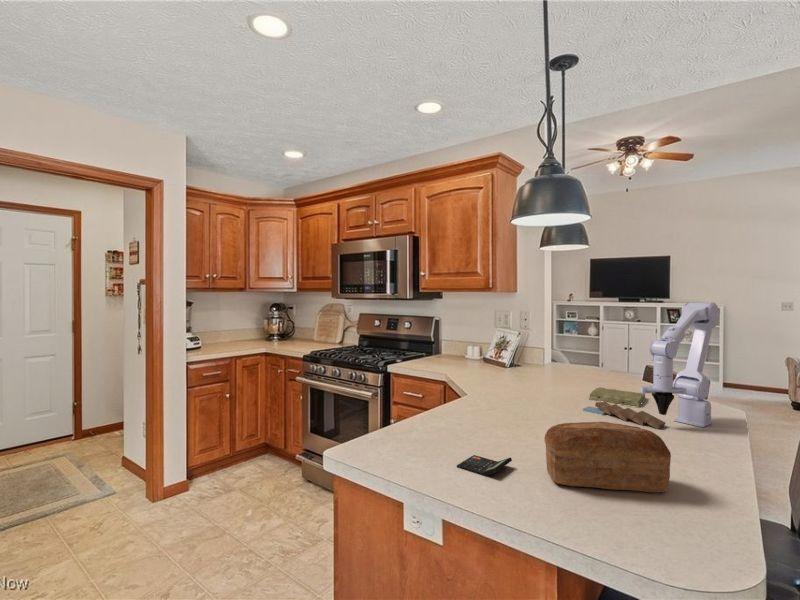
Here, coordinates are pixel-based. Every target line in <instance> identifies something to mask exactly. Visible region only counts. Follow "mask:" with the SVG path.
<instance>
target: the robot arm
mask: <svg viewBox="0 0 800 600" xmlns="http://www.w3.org/2000/svg"><path fill="white" fill-rule="evenodd" d="M719 316H720V310H719V307H718V305H717V303H715V302H689V301H687V302H685V303H684V304H683V305H682V307H681V315H680V317H679V318H678V320H677V322H676V323H675V325H672V326H669V327H668V328H667V329H666V331H664V333H663V334H662V335H661V337H660V338H659V339H657V340H654V341H652V342H651V344H650V345H649V346H650V348H649V353H650V355H651V360H652V362H653V373H652V374H653V376H652V377H653V380H652V381H653V382H652V383H653V385H652V386H650V385H649V386H640V387H639V393H643V394H645V395H646V394H651V396H652V397H653V399H654V401H655V403H656V406H657V410H658V413H659V414H660V415H661V416H666V415H667V413H668V409H669V407H670V405H671V403H672V402H673V400H674V399H675V395H674V394H676V396H677V397H678V399H677V400H678V402H677V404H678V405H677V406H678V407H677V408H678V409H677V417H676V418H673V421H674V422H678V423H683V424H687V425H692V426H695V427H699V428H704V427H707V426H709V425H711V424H713V422H712V403H711V402H710V401H709V400H706V398H707V397H708V396H709V393H710V388H709V387H710V386H709V385H710V379H709V377H707V376H706V375H705V374H704V373H703V370H704V365H705V362H706V357H707V354H708V349H709V346H710V340H711V336H712V332H713V329H714V328H716V327H717V324H718V321H719ZM690 327H692V328H693V329H694V331H693V336H692V340H691V344H690V349H689V351H688V357H687V360H686V365H685V369H683V370H680V371H678V372H677V373H676V376H675V378H674V358H675V357H676V356H677V354H678V351H679V347H680V346H679V345H680V344H681V343H682V341H683V340H684V339H685V338H686V331H687V330H688V329H689V328H690Z"/></svg>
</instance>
